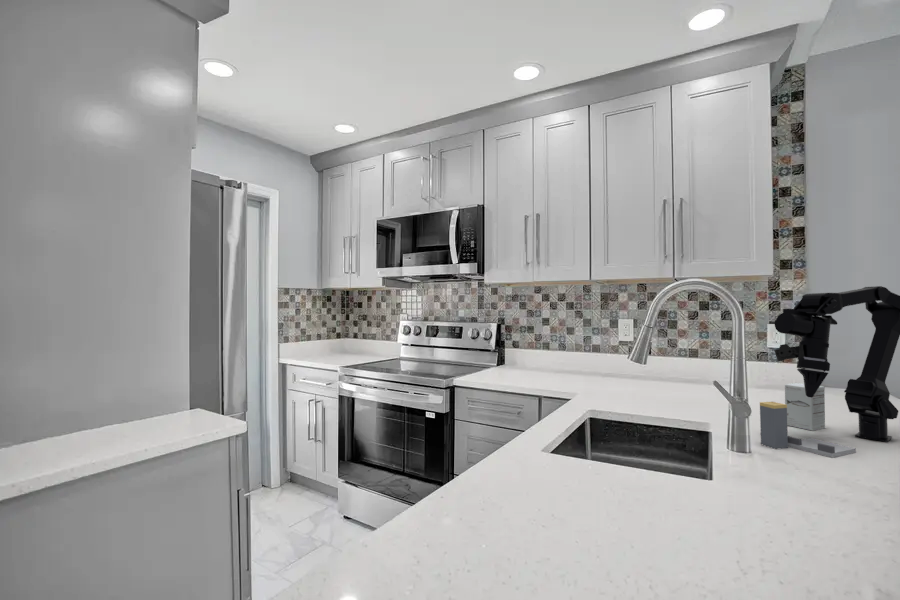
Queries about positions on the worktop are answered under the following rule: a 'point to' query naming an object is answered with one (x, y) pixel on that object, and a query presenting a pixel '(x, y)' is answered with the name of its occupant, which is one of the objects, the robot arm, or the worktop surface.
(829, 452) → the pad
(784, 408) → the grey block
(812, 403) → the supplement box
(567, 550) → the worktop surface
